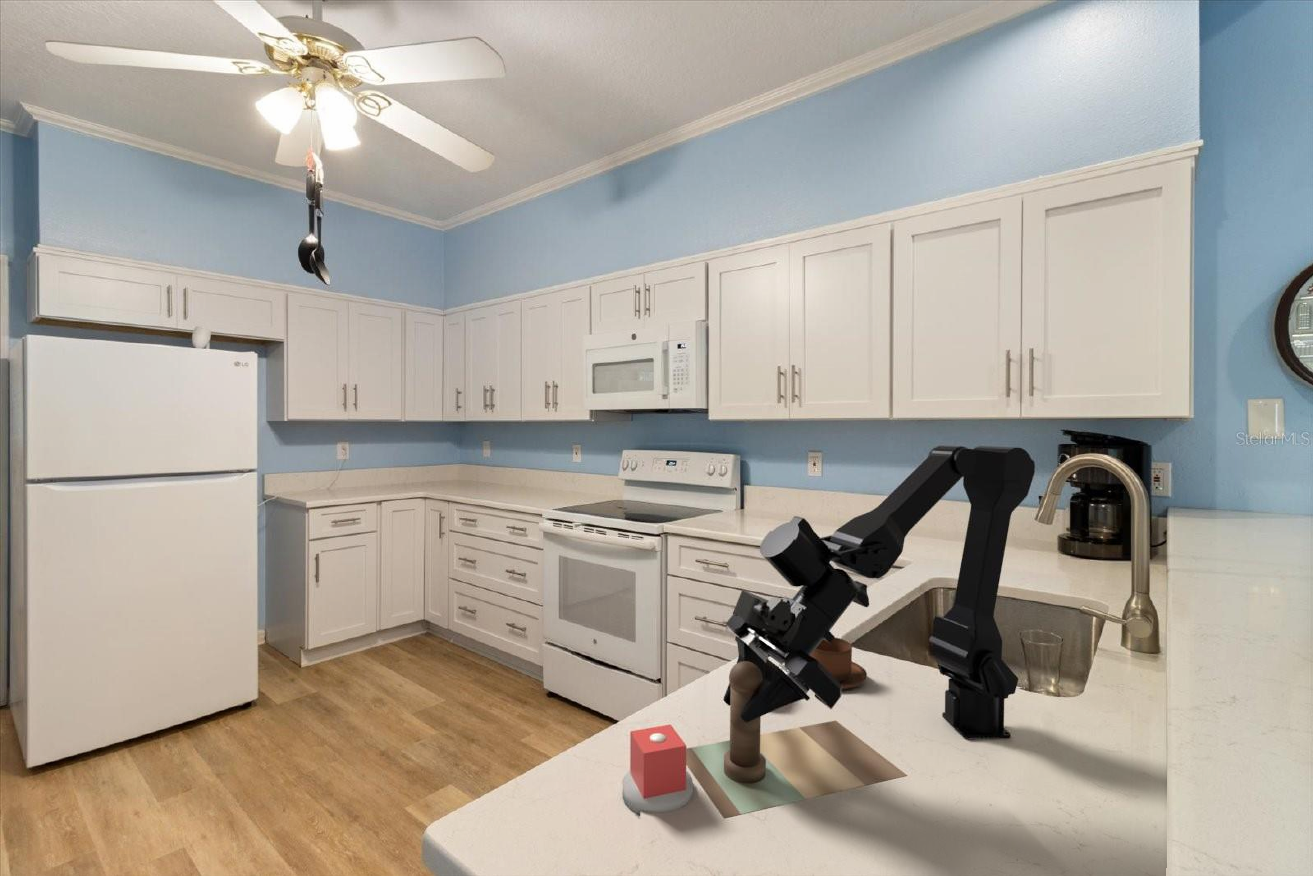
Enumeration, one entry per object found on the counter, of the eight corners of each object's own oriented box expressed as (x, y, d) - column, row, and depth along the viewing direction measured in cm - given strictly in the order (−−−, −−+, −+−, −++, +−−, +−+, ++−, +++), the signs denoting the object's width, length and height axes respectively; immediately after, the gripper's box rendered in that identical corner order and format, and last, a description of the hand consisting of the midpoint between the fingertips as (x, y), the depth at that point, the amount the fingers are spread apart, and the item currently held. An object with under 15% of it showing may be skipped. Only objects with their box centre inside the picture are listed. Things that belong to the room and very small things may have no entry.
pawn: (761, 759, 75) (762, 654, 75) (769, 783, 70) (771, 671, 70) (721, 759, 75) (722, 654, 75) (726, 783, 70) (728, 670, 70)
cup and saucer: (780, 685, 98) (780, 647, 98) (805, 661, 108) (806, 626, 108) (854, 704, 92) (855, 663, 92) (874, 676, 102) (875, 640, 102)
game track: (835, 724, 85) (835, 720, 85) (907, 780, 72) (907, 775, 72) (676, 755, 77) (676, 750, 77) (724, 823, 64) (724, 818, 64)
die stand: (677, 769, 74) (677, 715, 74) (703, 808, 66) (704, 749, 66) (614, 781, 71) (614, 726, 71) (634, 824, 64) (634, 762, 64)
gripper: (739, 552, 82) (662, 642, 79) (819, 587, 64) (724, 706, 61) (789, 604, 85) (717, 693, 82) (879, 651, 67) (792, 768, 64)
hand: (734, 711), depth 72 cm, fingers open, 4 cm apart
